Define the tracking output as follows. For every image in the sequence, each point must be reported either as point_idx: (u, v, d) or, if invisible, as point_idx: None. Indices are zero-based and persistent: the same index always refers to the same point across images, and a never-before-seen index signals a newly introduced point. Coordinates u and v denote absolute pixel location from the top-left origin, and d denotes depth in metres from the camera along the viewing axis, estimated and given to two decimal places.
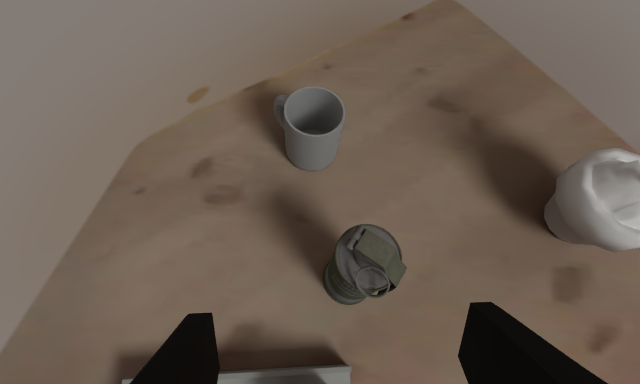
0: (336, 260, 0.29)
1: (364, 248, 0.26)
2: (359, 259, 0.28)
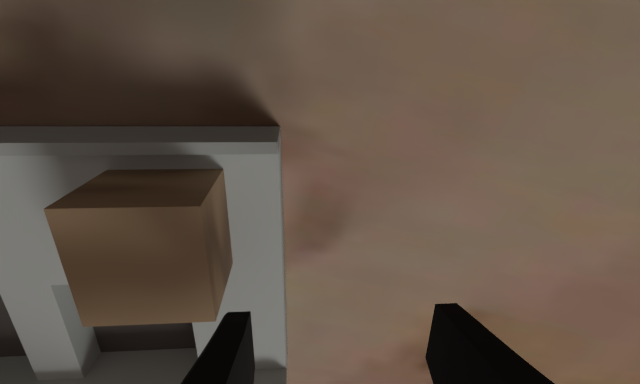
0: None
1: None
2: None
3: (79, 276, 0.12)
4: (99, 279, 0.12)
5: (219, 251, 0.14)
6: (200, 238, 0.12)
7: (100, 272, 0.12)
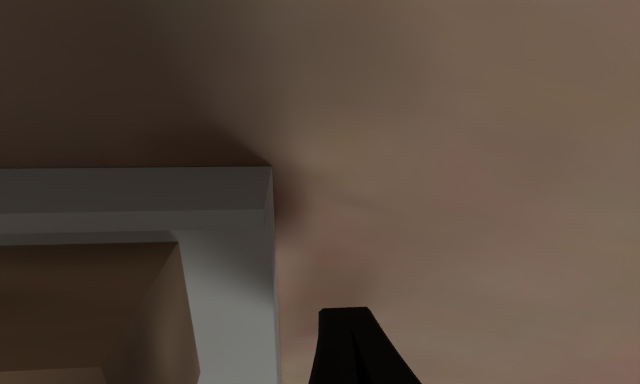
0: None
1: None
2: None
3: None
4: None
5: None
6: None
7: None
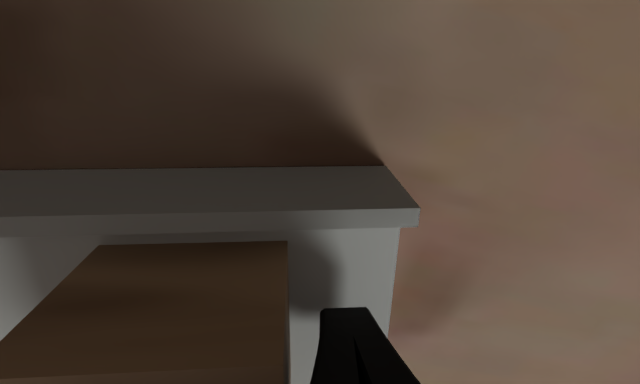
0: None
1: None
2: None
3: None
4: None
5: None
6: None
7: None
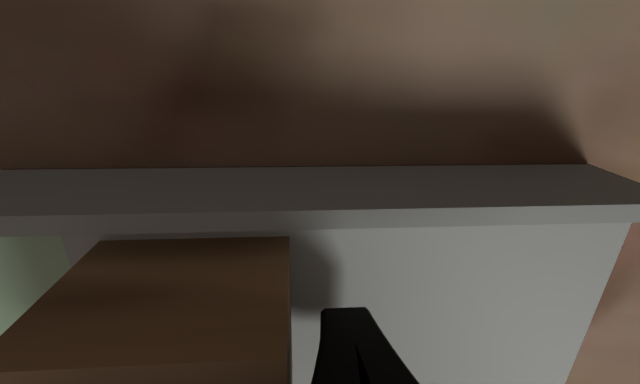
0: None
1: None
2: None
3: None
4: None
5: None
6: None
7: None
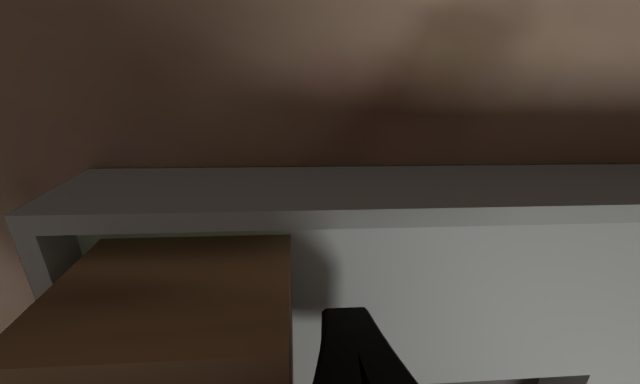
0: None
1: None
2: None
3: None
4: None
5: None
6: None
7: None
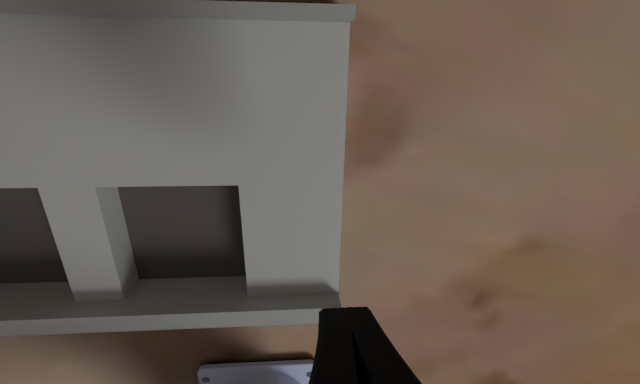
0: None
1: None
2: None
3: None
4: None
5: None
6: None
7: None
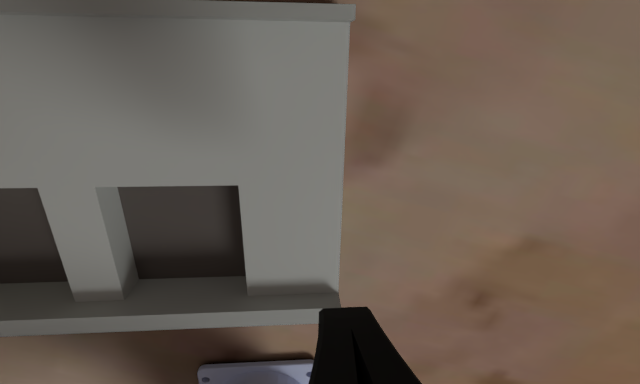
0: None
1: None
2: None
3: None
4: None
5: None
6: None
7: None
